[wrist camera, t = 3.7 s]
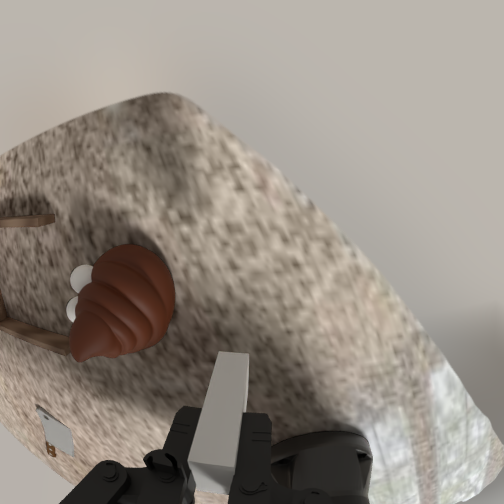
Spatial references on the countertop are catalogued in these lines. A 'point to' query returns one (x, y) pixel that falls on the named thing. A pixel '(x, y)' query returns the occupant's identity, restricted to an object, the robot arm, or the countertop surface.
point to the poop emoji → (120, 303)
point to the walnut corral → (21, 329)
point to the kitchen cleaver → (56, 434)
